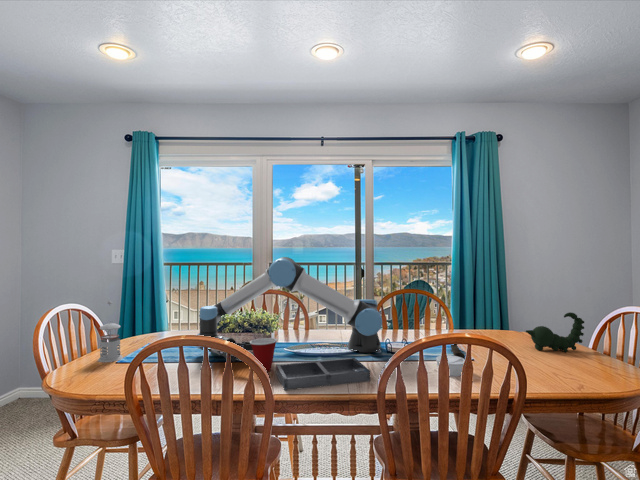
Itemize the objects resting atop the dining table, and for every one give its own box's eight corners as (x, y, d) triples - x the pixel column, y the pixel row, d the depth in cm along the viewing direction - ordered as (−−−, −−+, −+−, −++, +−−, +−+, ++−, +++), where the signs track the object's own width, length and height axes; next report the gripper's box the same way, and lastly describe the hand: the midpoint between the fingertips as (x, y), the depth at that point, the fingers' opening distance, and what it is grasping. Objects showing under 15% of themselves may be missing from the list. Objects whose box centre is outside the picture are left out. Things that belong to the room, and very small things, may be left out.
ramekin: (466, 379, 154) (466, 365, 154) (435, 376, 157) (435, 362, 157) (465, 369, 165) (465, 356, 165) (436, 366, 168) (436, 353, 168)
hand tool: (464, 362, 174) (464, 351, 174) (454, 361, 175) (454, 350, 175) (458, 349, 193) (458, 339, 193) (449, 349, 194) (449, 339, 194)
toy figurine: (573, 351, 195) (519, 345, 196) (577, 311, 194) (523, 306, 196) (585, 357, 185) (528, 351, 187) (589, 315, 185) (532, 310, 186)
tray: (354, 367, 167) (354, 357, 167) (370, 381, 151) (370, 370, 151) (276, 374, 158) (276, 364, 158) (284, 390, 143) (284, 379, 143)
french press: (100, 363, 171) (100, 303, 171) (93, 357, 180) (93, 300, 179) (126, 359, 178) (125, 301, 177) (118, 353, 186) (117, 297, 186)
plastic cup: (266, 363, 172) (266, 334, 171) (282, 369, 164) (282, 339, 164) (244, 369, 164) (244, 339, 164) (260, 376, 156) (260, 345, 156)
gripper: (244, 347, 186) (281, 355, 174) (200, 362, 166) (238, 372, 154) (244, 331, 186) (280, 338, 174) (200, 343, 165) (237, 352, 154)
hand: (260, 354), depth 164 cm, fingers open, 13 cm apart
